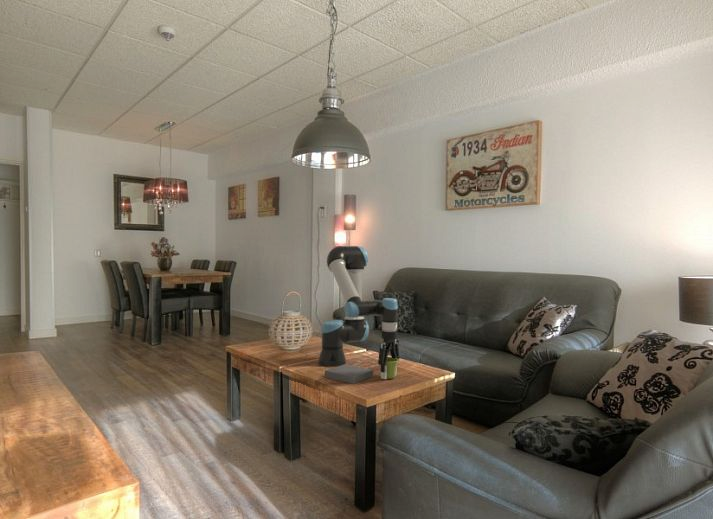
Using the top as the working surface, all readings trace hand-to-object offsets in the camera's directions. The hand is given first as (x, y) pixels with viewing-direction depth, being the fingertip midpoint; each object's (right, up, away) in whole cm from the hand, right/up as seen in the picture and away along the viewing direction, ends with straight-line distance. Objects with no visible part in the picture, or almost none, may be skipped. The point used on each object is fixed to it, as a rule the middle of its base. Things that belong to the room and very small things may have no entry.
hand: (388, 376), depth 208 cm
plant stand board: (-19, -1, +2) cm, 20 cm away
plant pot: (0, -1, 0) cm, 1 cm away
